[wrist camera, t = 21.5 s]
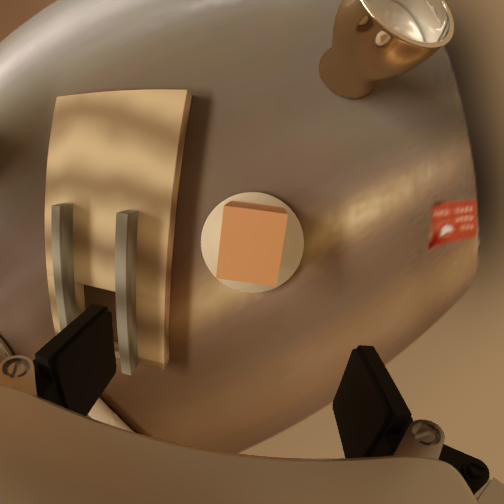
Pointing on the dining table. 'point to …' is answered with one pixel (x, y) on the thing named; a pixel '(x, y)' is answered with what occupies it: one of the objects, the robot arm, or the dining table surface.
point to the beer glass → (382, 42)
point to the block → (251, 242)
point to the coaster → (290, 250)
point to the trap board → (116, 211)
